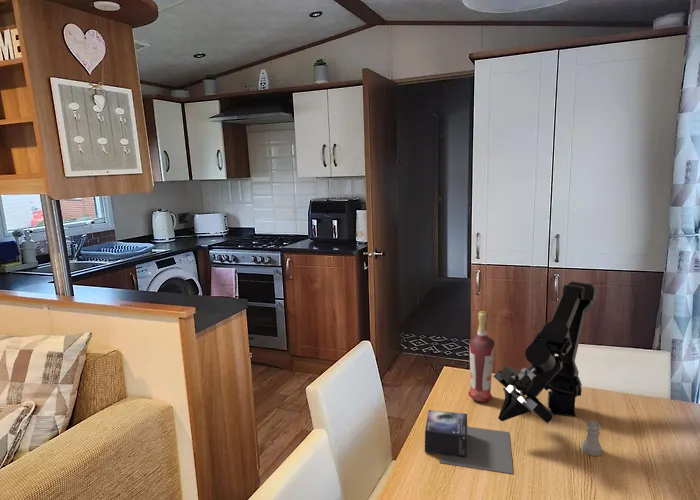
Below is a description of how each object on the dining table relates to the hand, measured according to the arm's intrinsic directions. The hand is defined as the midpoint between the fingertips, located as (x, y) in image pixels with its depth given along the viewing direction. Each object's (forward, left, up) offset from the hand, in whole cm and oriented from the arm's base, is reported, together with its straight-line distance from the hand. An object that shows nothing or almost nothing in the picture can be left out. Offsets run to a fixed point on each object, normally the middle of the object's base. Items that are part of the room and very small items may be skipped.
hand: (499, 419), depth 118 cm
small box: (+8, +3, -3) cm, 9 cm away
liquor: (+5, -22, -7) cm, 23 cm away
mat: (+6, +3, -7) cm, 9 cm away
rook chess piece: (-22, -2, -7) cm, 23 cm away
